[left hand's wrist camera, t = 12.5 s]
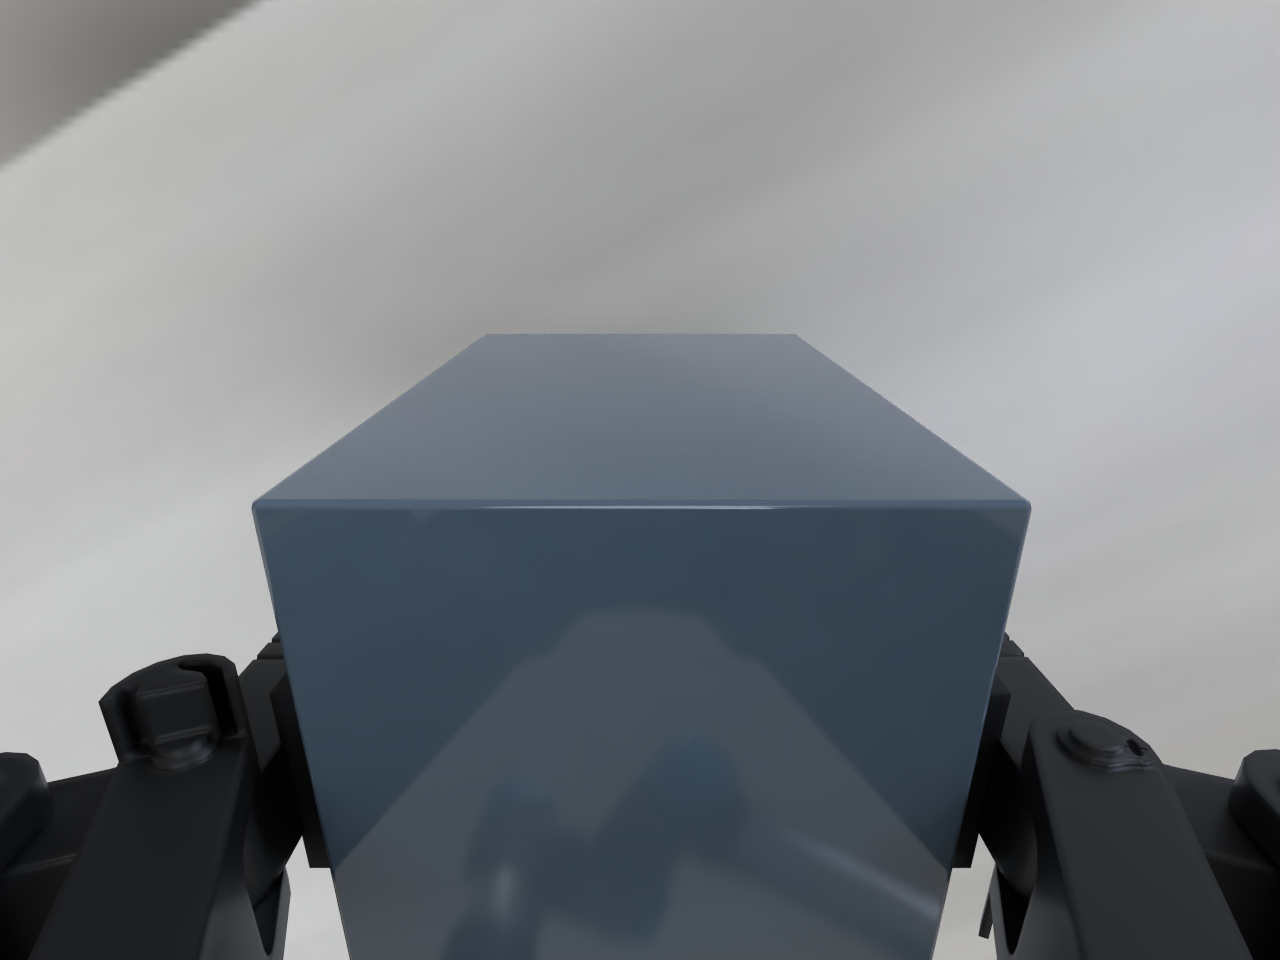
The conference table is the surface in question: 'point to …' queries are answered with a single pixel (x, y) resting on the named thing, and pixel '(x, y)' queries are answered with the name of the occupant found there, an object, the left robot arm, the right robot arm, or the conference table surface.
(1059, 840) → the left robot arm
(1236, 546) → the conference table surface
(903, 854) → the block
